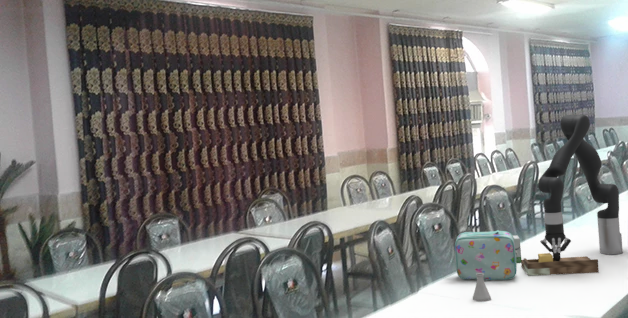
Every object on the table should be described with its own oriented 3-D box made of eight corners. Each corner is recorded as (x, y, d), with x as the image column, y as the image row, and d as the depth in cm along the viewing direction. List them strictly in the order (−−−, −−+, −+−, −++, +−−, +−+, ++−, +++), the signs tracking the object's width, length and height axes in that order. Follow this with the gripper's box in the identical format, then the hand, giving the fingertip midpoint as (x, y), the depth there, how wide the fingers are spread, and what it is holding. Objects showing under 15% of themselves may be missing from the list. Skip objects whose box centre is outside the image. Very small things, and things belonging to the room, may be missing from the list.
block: (550, 264, 265) (549, 253, 265) (553, 266, 260) (552, 255, 260) (538, 264, 266) (538, 253, 266) (541, 267, 261) (540, 256, 261)
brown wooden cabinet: (587, 262, 273) (586, 251, 272) (598, 272, 256) (597, 259, 256) (521, 266, 278) (520, 254, 277) (528, 275, 261) (527, 263, 261)
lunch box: (520, 274, 264) (516, 227, 263) (520, 281, 254) (516, 231, 253) (458, 275, 273) (454, 229, 272) (456, 281, 263) (452, 233, 262)
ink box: (522, 262, 284) (520, 238, 283) (511, 263, 285) (509, 238, 284) (519, 258, 292) (517, 234, 292) (509, 259, 293) (507, 235, 293)
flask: (469, 297, 239) (467, 273, 238) (487, 295, 239) (485, 270, 239) (476, 302, 231) (474, 277, 231) (494, 300, 232) (492, 275, 232)
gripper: (540, 224, 259) (543, 263, 260) (571, 222, 257) (575, 261, 258) (536, 221, 267) (539, 259, 268) (567, 219, 265) (570, 257, 266)
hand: (557, 260), depth 263 cm, fingers closed
